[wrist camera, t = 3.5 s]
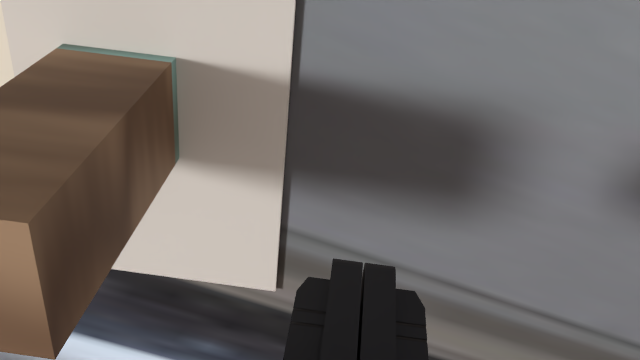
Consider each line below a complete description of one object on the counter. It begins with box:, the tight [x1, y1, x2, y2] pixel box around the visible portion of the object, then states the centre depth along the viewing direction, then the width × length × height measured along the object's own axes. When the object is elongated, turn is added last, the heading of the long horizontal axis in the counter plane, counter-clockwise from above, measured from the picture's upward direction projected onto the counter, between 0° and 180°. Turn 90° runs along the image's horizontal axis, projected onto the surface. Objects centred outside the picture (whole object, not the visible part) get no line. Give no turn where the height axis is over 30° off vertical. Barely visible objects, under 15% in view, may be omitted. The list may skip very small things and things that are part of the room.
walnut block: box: [0, 44, 179, 359], centre depth 18 cm, size 4×4×10 cm
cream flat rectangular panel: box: [0, 0, 296, 291], centre depth 22 cm, size 16×20×1 cm
